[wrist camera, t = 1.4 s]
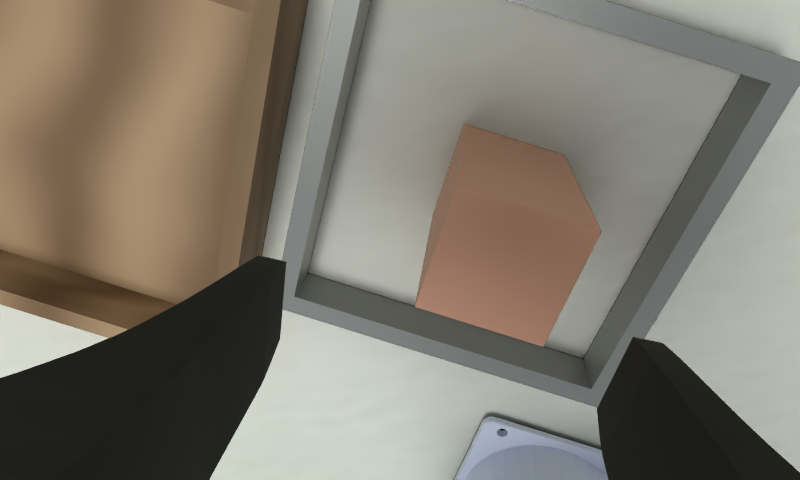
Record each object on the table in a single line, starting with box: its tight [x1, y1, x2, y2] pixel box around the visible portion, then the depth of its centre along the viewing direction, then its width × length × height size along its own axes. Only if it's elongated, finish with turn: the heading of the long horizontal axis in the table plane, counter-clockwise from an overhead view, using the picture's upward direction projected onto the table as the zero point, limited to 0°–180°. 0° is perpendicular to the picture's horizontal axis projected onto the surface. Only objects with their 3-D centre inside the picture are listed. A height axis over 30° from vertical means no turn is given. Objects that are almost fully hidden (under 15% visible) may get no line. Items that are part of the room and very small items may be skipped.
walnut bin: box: [0, 0, 308, 338], centre depth 21 cm, size 16×16×3 cm
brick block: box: [415, 124, 601, 347], centre depth 18 cm, size 4×4×7 cm
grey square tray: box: [282, 0, 800, 407], centre depth 20 cm, size 15×15×2 cm
